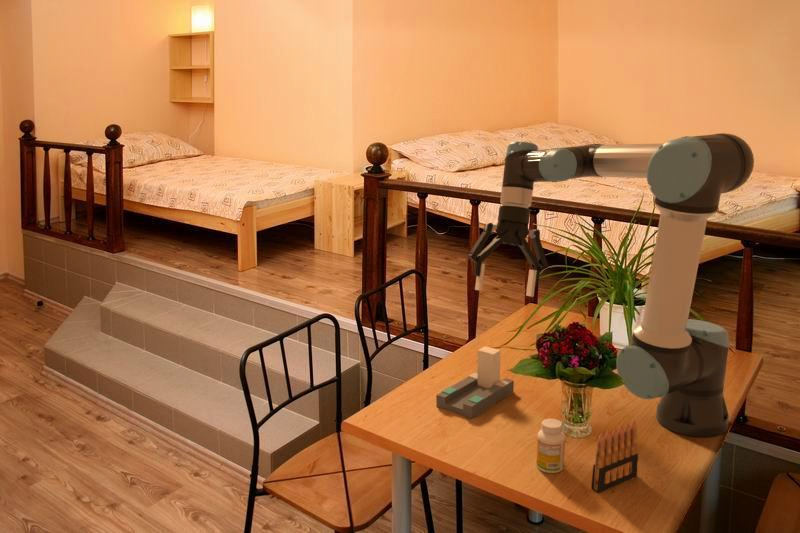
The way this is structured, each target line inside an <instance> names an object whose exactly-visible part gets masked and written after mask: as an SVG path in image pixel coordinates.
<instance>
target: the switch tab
mask: <svg viewBox="0 0 800 533" xmlns="http://www.w3.org/2000/svg"><path fill="white" fill-rule="evenodd" d="M501 351H502V350H500V349H498V348H494V347H489V346H486V345H484V346H483V347H481V348H479V349H477V372H478V373H477V385H479V386H482V387H485V388H490V387H491V386H493V385H494V384H495V383H497V382H498V381H500V379H501Z"/></svg>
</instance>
